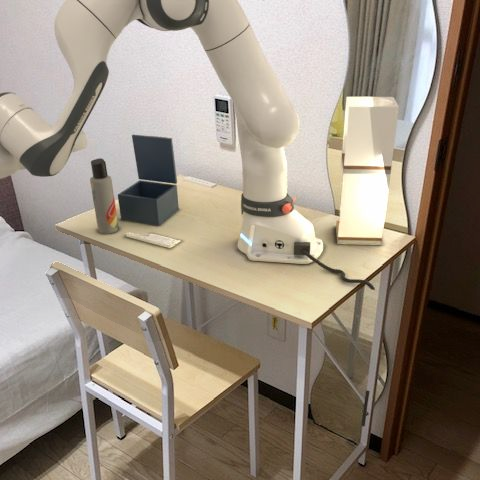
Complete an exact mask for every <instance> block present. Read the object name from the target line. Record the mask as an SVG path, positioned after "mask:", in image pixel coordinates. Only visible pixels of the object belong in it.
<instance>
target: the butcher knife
mask: <svg viewBox="0 0 480 480" xmlns="http://www.w3.org/2000/svg"><path fill="white" fill-rule="evenodd" d="M125 236H126V238H129V239H134V240H137V241H142V242H145V243H148V244H152V245H156V246H160V247H165V248H168V249H171V248H172V247H174V246H176V245H177V244H179V243H180V242H181V240H180V239H176V238H173V237H169V236H165V235H160V234H157V233H146V235H143V234H138V233H135V232H132V231H129V232H127V233H126V234H125Z"/></svg>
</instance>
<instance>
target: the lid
mask: <svg viewBox="0 0 480 480" xmlns="http://www.w3.org/2000/svg"><path fill="white" fill-rule="evenodd" d="M131 139H132V146H133V153H134V159H135V165H136V170H137V176H138V177H137V178H138V180H141V181H149V182H157V183H165V184H173V185H177V184H178V178H177V169H176V161H175V151H174V143H173V138H172V137H166V136H157V135H156V136H155V135H141V134H132V135H131Z"/></svg>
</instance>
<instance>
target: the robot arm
mask: <svg viewBox="0 0 480 480" xmlns="http://www.w3.org/2000/svg"><path fill="white" fill-rule="evenodd" d="M134 21H137V22H139V23H141V24H142V25H143V26H145V27H148V28H150V29H154V30H157V31H160V32H176V31H177V32H178V31H183V30H186V29H189V28H191V30H193V32H194V33H195V35H196V36H197V38H198V40H199V42H200V44H201V46H202V48H203V50H204V52H205V54H206V56H207V58H208V60H209V62H210V63H211V66H212V68H213V70H214V71H215V73H216V75H217V77H218V79H219V81H220V83H221V85H222V87H223V88H224V89H225V91H226V92H227V94H228V95H229V97H230V99H231V101H232V103H233V105H234V106H233V107H234V108H233V109H234V114H235V120H236V127H237V136H238V143H239V151H240V156H241V169H242V193H241V196H240V197H241V198H240V210H241V215H242V217H241V218H242V219H241V226H240V227H241V228H240V233H239V238H238V241H237V249H238V250H239V251H240V252H241V253H243V254H244V255H246V257H247V258H248V260H249V261H253V262H268V263H283V264H297V265H298V264H299V265H308V264H311V263H313V262H314V263H315V264H317V265H318V266H319V267H321V268H322V269H324V270H326V271H328V272H331V273H335V274H340V278H341V280H342V281H343V282H345V283H348V284H364V285H366V286H367V287H368V288H369V289H370V290H371V291H372V290H373V291H375V290H376V288H375V287H374V285H373V284H372V283H371V282H370V281H368V280H366V279H361V278H359V279H357V278H356V279H355V278H348V277H346V273H345V271H343V270H342V269H339V268H333V267H330V266H328V265H326V264H324V263H323V262H322V261H320V260H319V257H320V256H321V255H322V253H323V251H324V242H323V240H322V239H320V238H318V237H316V232H315V228H314V225H313V223H312V222H311V221H310V220H309V219H308V218H306V217H305V216H304V215H302V214H301V213H300V212H299V211H298V210H297V209H295V202H296V196H295V195H294V196H293V197H291V196H290V195H289V193H288V191H287V190H288V160H287V156H286V153H285V147H287V146H289V145H290V144H291V143H293V142H294V141H295V139H296V137H297V136H298V134H299V130H300V126H301V125H300V117H299V114H298V112H297V111H296V109H295V107H294V105H293V104H292V101H291V100H290V97H289V96H288V94H287V92H286V90H285V88H284V87H283V85H282V83H281V82H280V80H279V78H278V76H277V74H276V73H275V71H274V70H273V68H272V67H271V65H270V63H269V61H268V60H267V57H266V56H265V54H264V51H263V49H262V47H261V45H260V42H259V40H258V39H257V36H256V34H255V32H254V30H253V28H252V26H251V23H250V22H249V19H248V17H247V15H246V13H245V11H244V9H243V7H242V6H241V4H240V2H239V1H238V0H65V1H64V2H63V4H62V5H61V6H60V7H59V9H58V11H57V13H56V16H55V18H54V24H53V25H54V26H53V27H54V36H55V40H56V42H57V46H58V48H59V50H60V52H61V54H62V56H63V58H64V60H65V61H66V63H67V65H68V67H69V69H70V71H71V75H72V79H73V88H72V91H71V94H70V96H69V98H68V99H67V101H66V103H65V105H64V107H63V109H62V111H61V113H60V114H59V117H57V118H58V119H57V120H56V122H55V124H54V125H52V124H50V123H49V122H48V121H47V120H46V119H44V118H43V117H42V116H41V115H40V114H39V113H37V111H35V109H34V108H33V107H31V106H30V105H29V104H28V103H27V102H26V101H25V100H23V99H22V98H21V97H20V96H19V95H17V94H16V93H15V92H11V91H10V92H9V91H6V92H1V93H0V180H1V179H2V180H3V179H5V178H7V177H9V176H12V175H14V174H16V173H17V172H18V171H21V170H23V171H24V170H27V171H28V173H30V175H31V176H33V177H34V176H35V177H40V178H41V177H44V178H47V177H53V176H56V175H57V174H59V173H60V172H61V170H63V168H64V167H66V164H67V162H68V161H69V158H70V156H71V154H73V153H75V152H79V151H82V150H84V149H86V148H87V147H88V141H87V134H86V133H85V131H84V129H83V128H84V127H85V124H86V122H87V121H88V119H89V118H90V115H91V114H92V112H93V111H94V108H95V106H96V105H97V102H98V100H99V98H100V97H101V95H102V93H103V91H104V89H105V87H106V84H107V81H108V79H109V76H110V75H109V73H110V70H109V68H108V64H107V62H108V57H109V53H110V50H111V48H112V46H113V44H114V43H115V41H116V40H117V39H118V38H119V36H120V35H121V34H122V32H123V30H124V29H125V28H126V27H128V26H129V25H130V24H131V23H133V22H134ZM369 397H370V390H367V389H366V390H365V395H364V401H363V411H362V416H361V418H362V419H361V427H365V426H366V420H367V412H368V404H369Z"/></svg>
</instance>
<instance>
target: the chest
mask: <svg viewBox="0 0 480 480" xmlns="http://www.w3.org/2000/svg"><path fill="white" fill-rule="evenodd" d="M117 201H118V208H119V216H120V221H125V222H130V223H131V222H132V223H138V224H144V225H153V226H158V227H159V226H161V225H162V224H163V223H164V222H165V221H167V220H168V219H169V218H170V217H172V216H173V215H174V214H176V213H177V212H178V211H179V209H180V208H179V196H178V185H177V184H173V183H165V182H157V181H149V180H141V179H138V181H136V182H135V183H133V184H131V185H130V186H128V187H127V188H126V189H124V190H122V191H121V192H120V193H117Z"/></svg>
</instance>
